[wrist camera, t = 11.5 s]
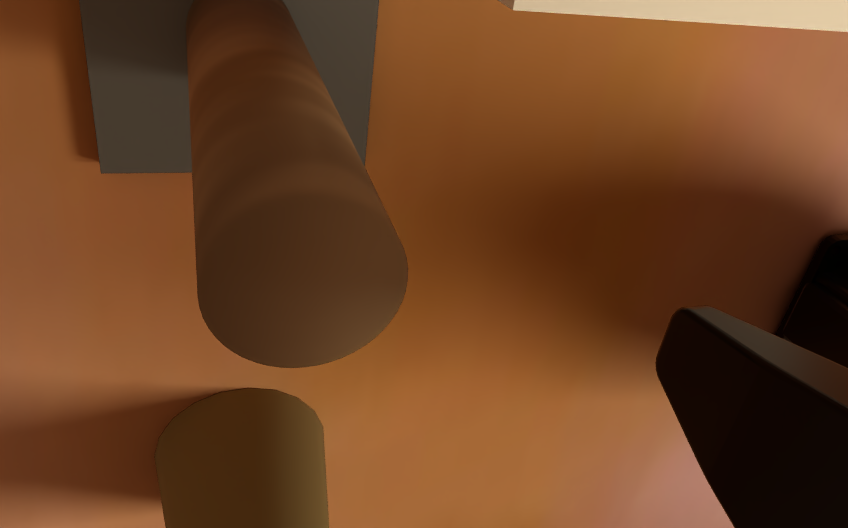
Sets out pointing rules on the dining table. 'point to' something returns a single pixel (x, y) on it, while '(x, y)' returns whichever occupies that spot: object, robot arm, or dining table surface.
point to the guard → (707, 11)
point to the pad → (168, 74)
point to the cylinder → (281, 196)
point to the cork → (243, 463)
